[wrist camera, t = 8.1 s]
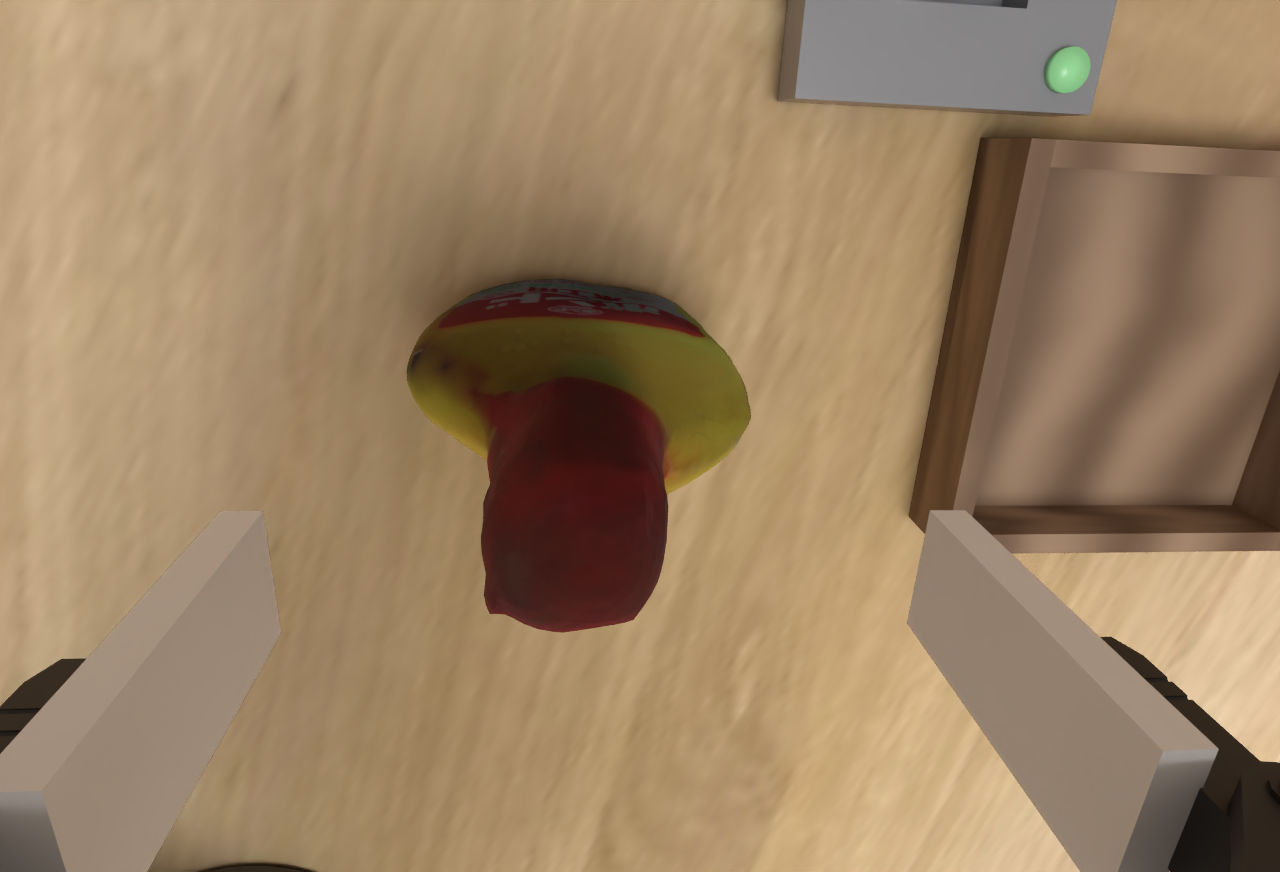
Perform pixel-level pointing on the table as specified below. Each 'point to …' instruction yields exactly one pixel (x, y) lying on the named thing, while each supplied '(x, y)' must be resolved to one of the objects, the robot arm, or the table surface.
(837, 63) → the grey flat square piece
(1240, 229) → the tray
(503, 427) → the bottle
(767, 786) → the table surface
